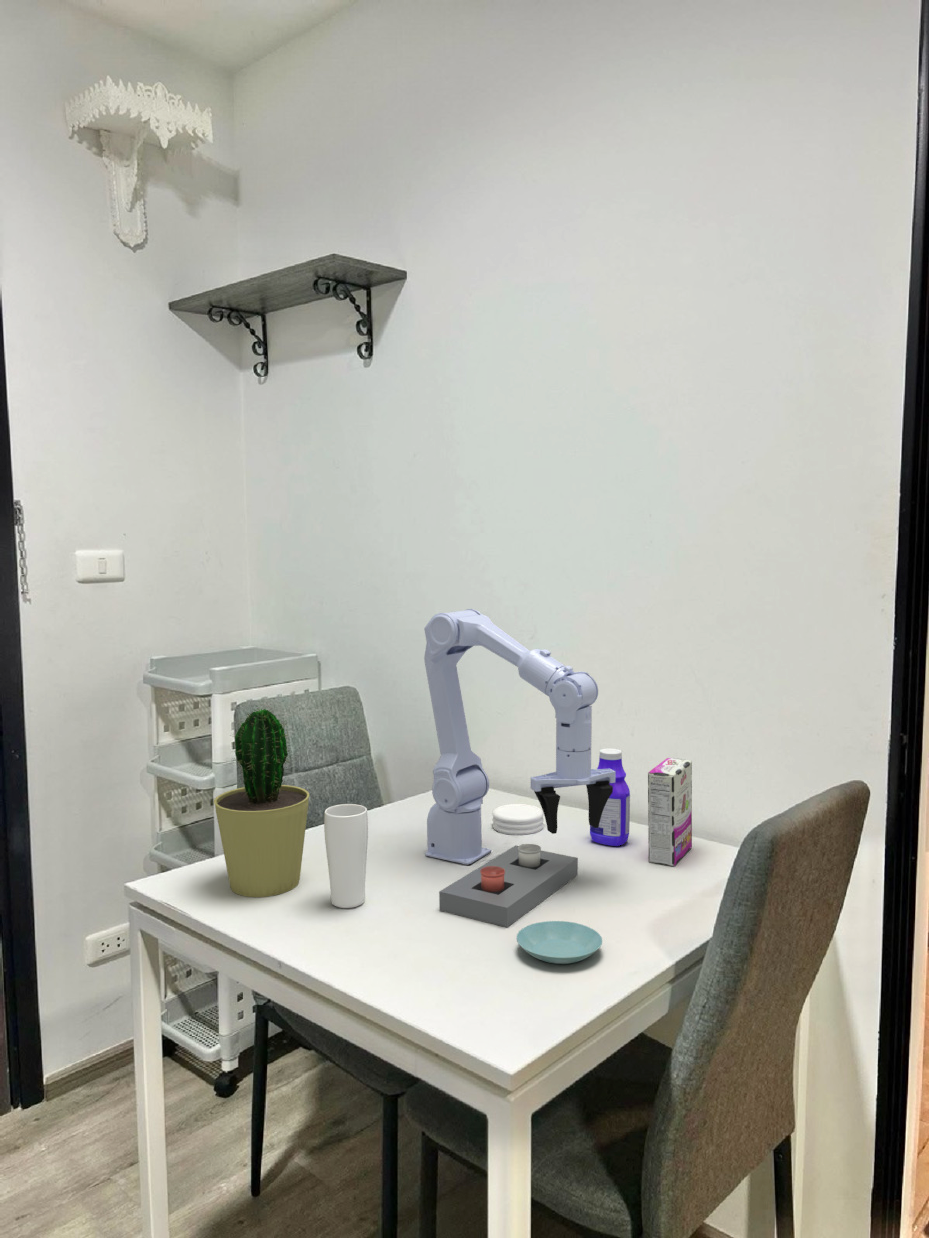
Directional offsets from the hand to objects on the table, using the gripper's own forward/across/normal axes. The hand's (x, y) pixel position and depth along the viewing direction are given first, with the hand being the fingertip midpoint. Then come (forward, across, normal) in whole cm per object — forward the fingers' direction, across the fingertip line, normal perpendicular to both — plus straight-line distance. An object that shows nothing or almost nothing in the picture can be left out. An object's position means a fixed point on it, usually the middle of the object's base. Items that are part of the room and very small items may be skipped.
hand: (573, 828), depth 151 cm
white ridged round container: (+10, +3, +30) cm, 32 cm away
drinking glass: (+10, -36, +6) cm, 38 cm away
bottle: (+9, +16, +15) cm, 24 cm away
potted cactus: (+10, -48, +19) cm, 52 cm away
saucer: (+10, -13, -22) cm, 27 cm away
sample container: (+6, -6, +4) cm, 10 cm away
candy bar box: (+9, +22, +5) cm, 24 cm away
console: (+9, -11, 0) cm, 14 cm away
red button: (+6, -16, -3) cm, 17 cm away
